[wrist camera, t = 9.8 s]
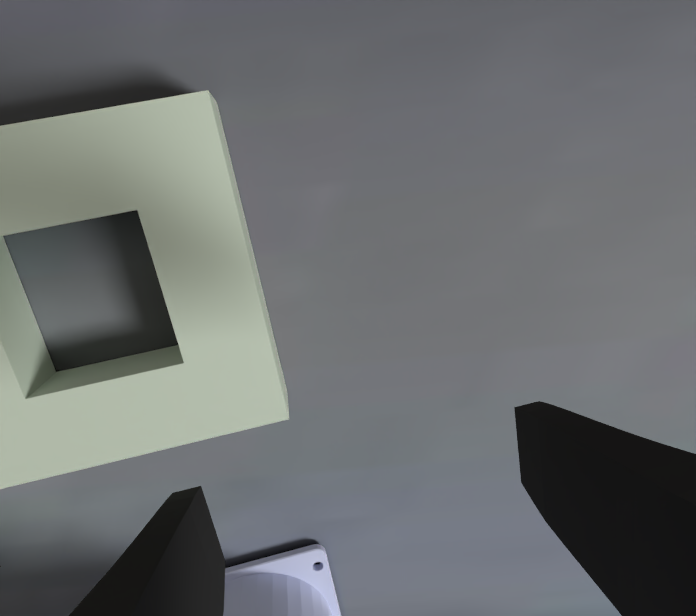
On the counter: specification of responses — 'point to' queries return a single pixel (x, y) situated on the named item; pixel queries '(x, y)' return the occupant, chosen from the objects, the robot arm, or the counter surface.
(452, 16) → the counter surface
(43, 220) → the pin holder
